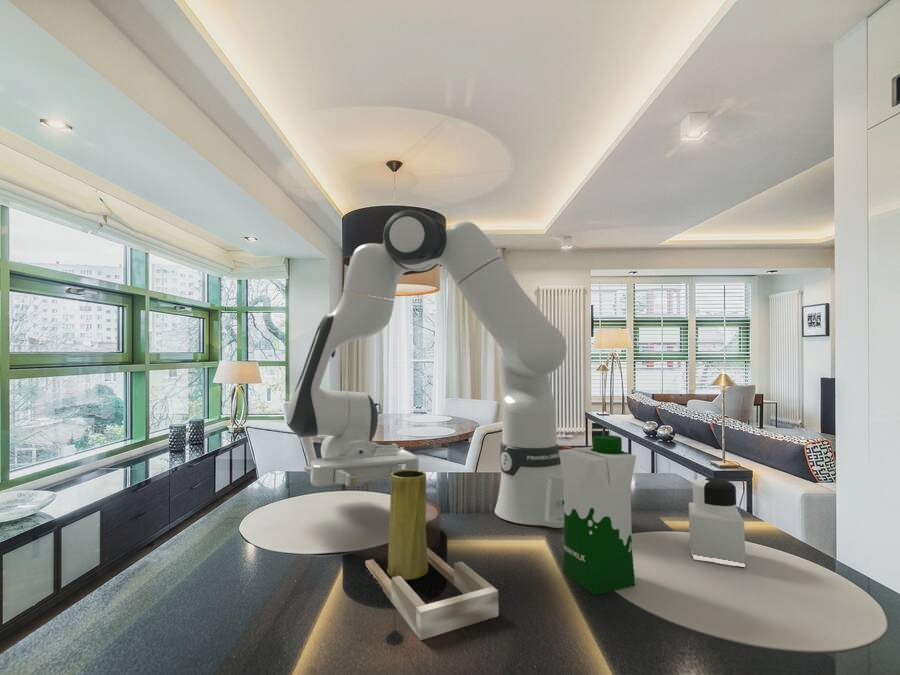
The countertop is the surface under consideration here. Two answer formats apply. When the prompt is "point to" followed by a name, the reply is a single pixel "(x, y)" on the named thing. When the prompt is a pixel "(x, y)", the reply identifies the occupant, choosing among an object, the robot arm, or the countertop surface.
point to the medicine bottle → (716, 521)
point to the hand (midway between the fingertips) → (378, 478)
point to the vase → (407, 525)
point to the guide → (446, 613)
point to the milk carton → (598, 515)
